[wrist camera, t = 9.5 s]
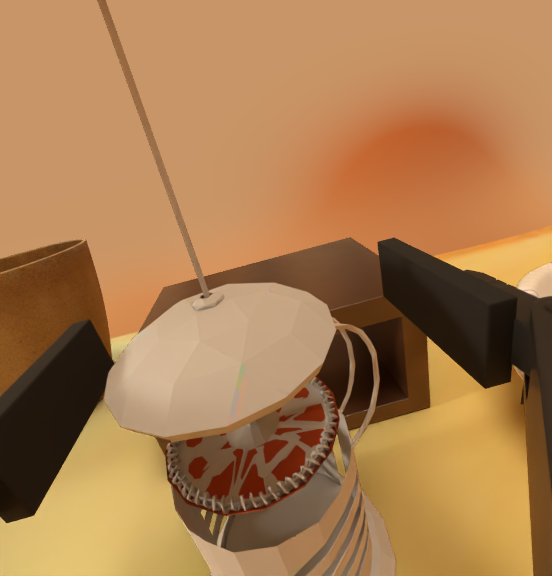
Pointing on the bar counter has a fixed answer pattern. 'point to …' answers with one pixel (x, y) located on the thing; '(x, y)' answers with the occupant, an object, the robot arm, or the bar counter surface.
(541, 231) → the bar counter surface
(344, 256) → the shelf
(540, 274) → the paper bowls
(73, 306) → the plant pot
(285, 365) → the french press
